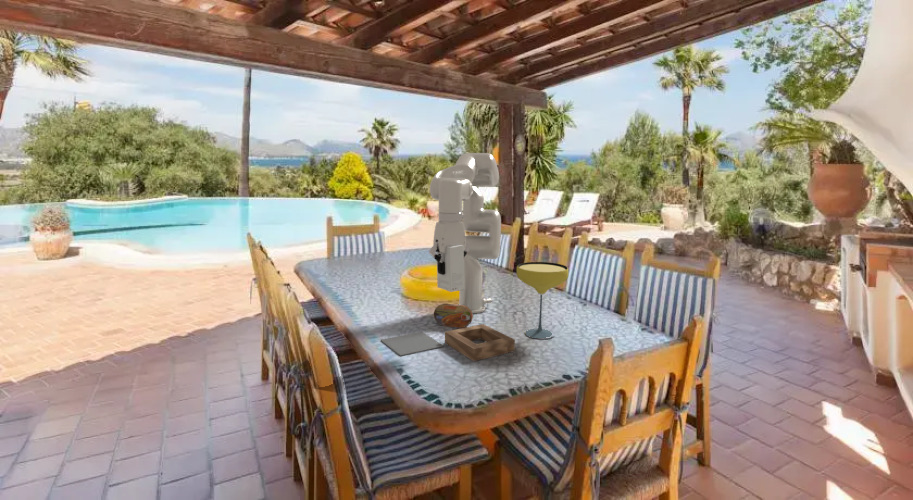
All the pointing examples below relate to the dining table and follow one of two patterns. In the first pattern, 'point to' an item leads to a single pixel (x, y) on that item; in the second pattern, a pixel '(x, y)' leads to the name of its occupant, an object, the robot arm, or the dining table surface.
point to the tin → (453, 315)
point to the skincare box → (452, 269)
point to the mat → (411, 343)
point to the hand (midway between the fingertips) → (449, 272)
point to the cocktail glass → (541, 284)
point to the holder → (490, 348)
